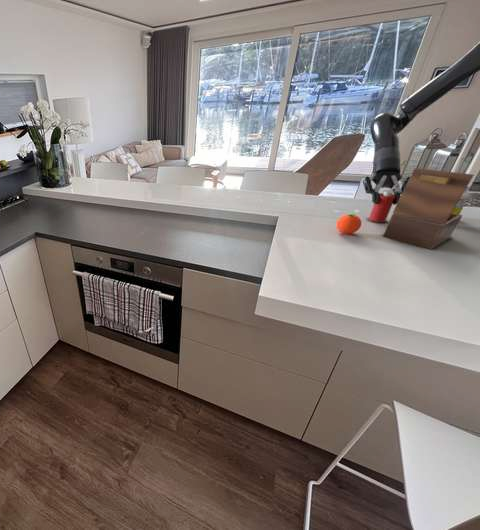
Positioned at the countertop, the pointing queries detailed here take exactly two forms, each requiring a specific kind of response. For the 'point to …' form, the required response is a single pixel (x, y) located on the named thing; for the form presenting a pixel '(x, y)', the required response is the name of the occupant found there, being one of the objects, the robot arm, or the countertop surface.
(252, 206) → the countertop surface
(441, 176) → the lid
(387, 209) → the sauce bottle
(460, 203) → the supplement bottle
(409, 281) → the countertop surface
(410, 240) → the chest
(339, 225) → the clementine
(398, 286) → the countertop surface
